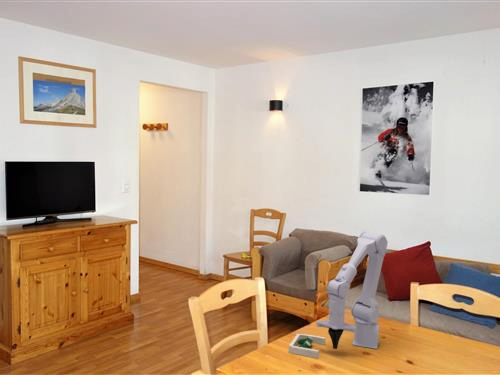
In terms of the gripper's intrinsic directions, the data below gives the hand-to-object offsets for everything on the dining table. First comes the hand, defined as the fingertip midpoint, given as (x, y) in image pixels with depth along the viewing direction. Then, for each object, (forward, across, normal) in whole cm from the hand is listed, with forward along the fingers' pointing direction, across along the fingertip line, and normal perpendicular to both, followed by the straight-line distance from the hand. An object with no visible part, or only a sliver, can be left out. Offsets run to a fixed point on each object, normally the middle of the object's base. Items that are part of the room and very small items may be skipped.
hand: (335, 347), depth 169 cm
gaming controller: (+2, -12, -1) cm, 12 cm away
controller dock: (+2, -10, 0) cm, 10 cm away
